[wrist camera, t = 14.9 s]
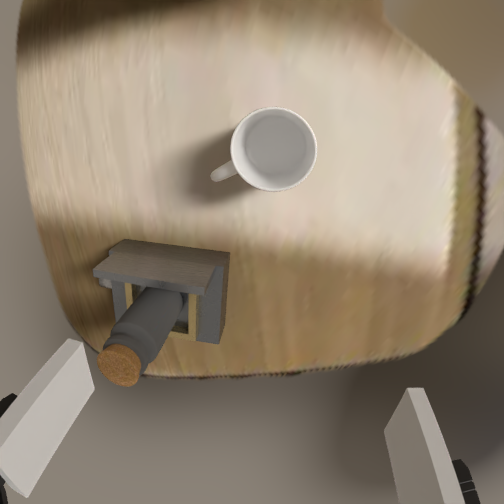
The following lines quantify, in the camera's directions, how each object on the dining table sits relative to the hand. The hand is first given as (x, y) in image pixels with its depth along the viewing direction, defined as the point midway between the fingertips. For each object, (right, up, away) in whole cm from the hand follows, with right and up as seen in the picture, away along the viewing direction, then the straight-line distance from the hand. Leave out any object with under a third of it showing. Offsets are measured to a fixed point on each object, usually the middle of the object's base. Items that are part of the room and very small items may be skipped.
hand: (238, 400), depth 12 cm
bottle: (-11, -1, +31) cm, 33 cm away
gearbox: (-12, +1, +36) cm, 38 cm away
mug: (+2, +18, +28) cm, 34 cm away
